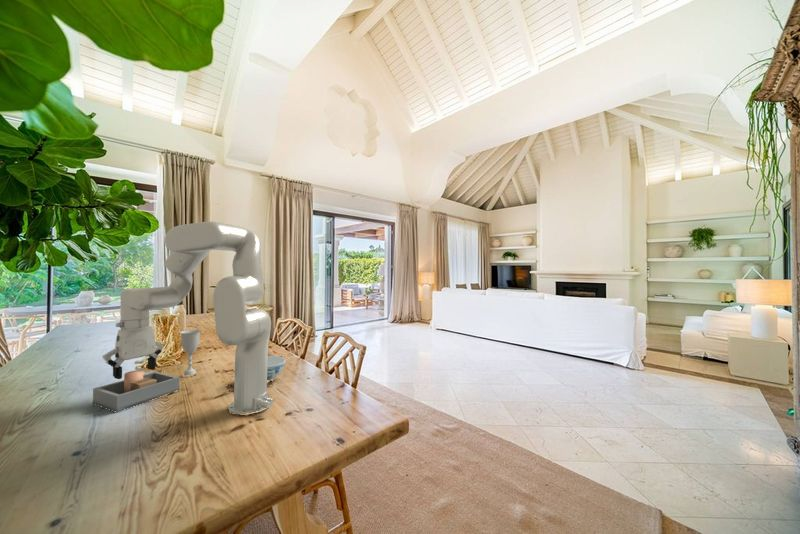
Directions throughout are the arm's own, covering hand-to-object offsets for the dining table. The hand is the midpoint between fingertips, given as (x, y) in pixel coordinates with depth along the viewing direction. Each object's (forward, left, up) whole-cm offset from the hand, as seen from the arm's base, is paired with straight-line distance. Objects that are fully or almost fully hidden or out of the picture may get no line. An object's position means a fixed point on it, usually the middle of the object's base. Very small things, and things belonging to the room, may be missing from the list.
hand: (135, 373), depth 106 cm
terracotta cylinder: (+1, 0, -7) cm, 7 cm away
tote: (-2, 0, -8) cm, 8 cm away
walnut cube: (-5, 0, -7) cm, 8 cm away
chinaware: (-28, -30, -8) cm, 42 cm away
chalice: (+4, -21, -8) cm, 23 cm away
